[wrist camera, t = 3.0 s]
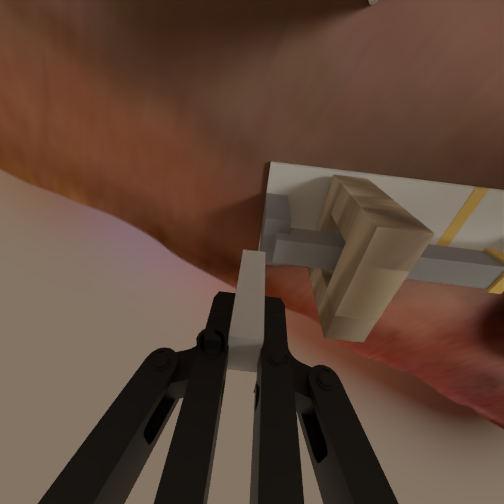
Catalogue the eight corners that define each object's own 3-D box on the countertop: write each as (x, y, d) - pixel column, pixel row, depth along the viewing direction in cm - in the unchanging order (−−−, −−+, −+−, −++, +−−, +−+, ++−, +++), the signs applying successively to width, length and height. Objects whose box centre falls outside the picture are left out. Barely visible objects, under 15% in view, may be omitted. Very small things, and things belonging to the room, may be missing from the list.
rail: (596, 201, 20) (735, 244, 14) (512, 281, 26) (585, 336, 20) (270, 161, 20) (271, 187, 14) (258, 251, 26) (254, 297, 20)
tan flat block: (367, 178, 19) (435, 233, 11) (333, 264, 25) (363, 342, 17) (333, 174, 19) (377, 226, 11) (306, 261, 25) (324, 337, 17)
